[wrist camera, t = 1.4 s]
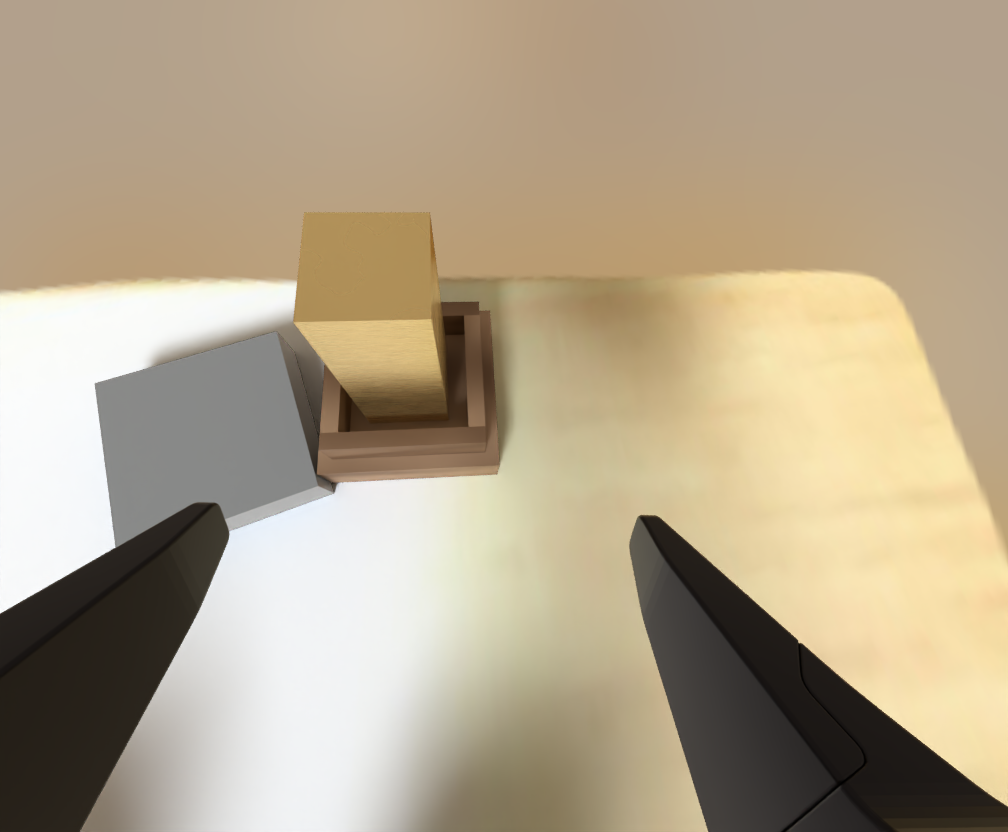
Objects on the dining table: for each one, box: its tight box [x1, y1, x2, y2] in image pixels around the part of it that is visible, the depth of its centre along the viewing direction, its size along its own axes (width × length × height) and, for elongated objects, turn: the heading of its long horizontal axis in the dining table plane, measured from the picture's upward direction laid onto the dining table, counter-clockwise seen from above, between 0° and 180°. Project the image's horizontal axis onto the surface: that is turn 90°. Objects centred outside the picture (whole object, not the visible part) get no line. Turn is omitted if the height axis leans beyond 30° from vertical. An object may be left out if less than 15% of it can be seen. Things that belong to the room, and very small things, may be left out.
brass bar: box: [293, 213, 449, 424], centre depth 18 cm, size 4×4×10 cm
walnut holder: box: [317, 302, 500, 483], centre depth 23 cm, size 9×9×4 cm
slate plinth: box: [95, 331, 334, 547], centre depth 22 cm, size 9×9×2 cm
